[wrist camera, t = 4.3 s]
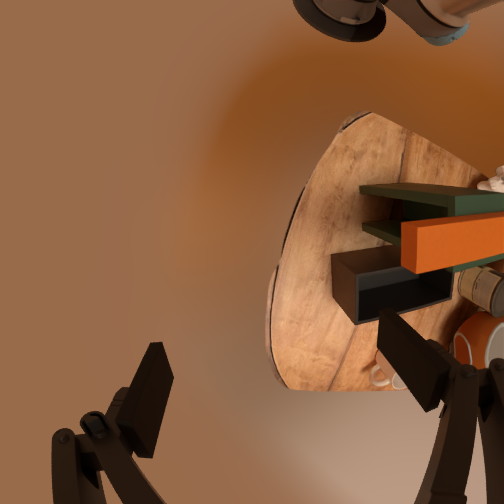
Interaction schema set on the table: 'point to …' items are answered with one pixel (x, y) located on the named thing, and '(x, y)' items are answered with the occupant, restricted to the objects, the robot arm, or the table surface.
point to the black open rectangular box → (384, 284)
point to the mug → (385, 373)
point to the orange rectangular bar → (450, 241)
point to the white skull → (494, 181)
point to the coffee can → (483, 288)
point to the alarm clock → (480, 340)
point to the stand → (433, 209)
